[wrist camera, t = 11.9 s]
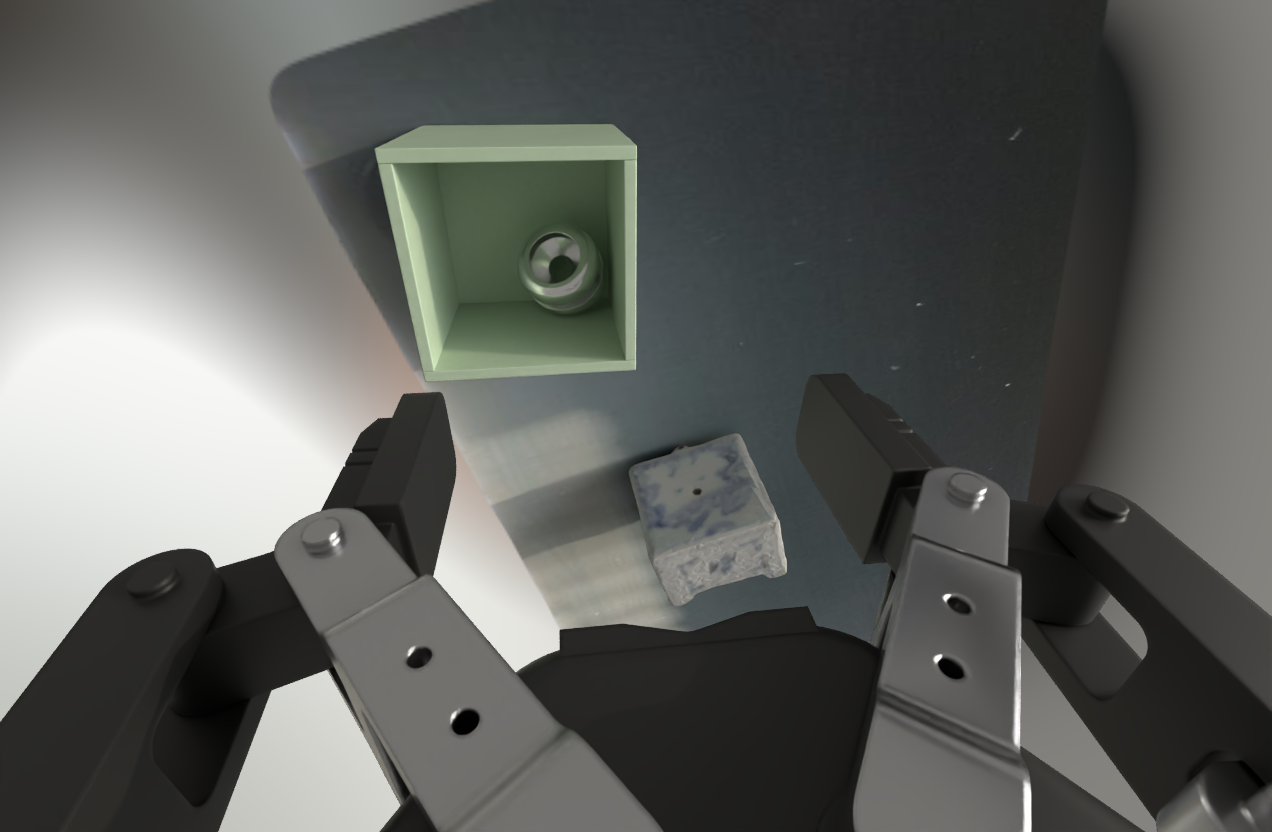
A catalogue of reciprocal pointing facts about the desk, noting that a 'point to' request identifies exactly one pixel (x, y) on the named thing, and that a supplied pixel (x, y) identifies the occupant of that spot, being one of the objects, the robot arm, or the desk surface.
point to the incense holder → (706, 518)
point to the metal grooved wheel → (549, 255)
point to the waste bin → (510, 244)
